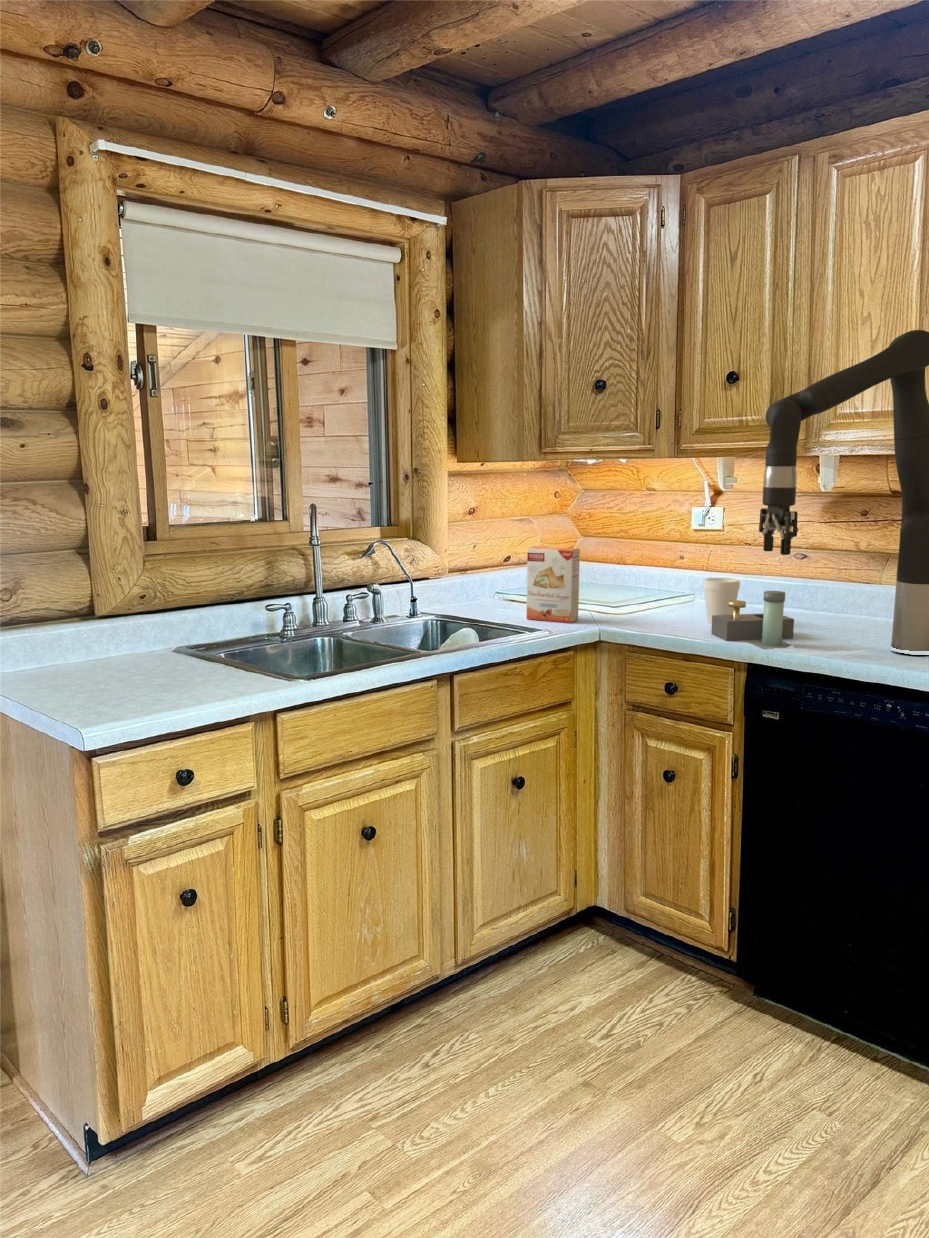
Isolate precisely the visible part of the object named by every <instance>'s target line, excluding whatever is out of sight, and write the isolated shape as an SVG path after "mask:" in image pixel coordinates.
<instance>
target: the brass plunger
mask: <svg viewBox="0 0 929 1238" xmlns="http://www.w3.org/2000/svg"><path fill="white" fill-rule="evenodd" d="M728 607H733V618H734V619H737V618H740V614H741V609H743V608H746V607H747V602H746V601H744V600H739V599H737V600H731V601H728Z"/></svg>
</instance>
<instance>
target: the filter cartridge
mask: <svg viewBox="0 0 929 1238" xmlns="http://www.w3.org/2000/svg"><path fill="white" fill-rule="evenodd" d="M785 601H786V592H785V591H780V590H765V591H763V613H764V614H763V631H762V640H761V641H762V645H765V646H781V642H782V641H783V639H782V626H783V615H784V607H785Z"/></svg>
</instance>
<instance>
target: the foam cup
mask: <svg viewBox="0 0 929 1238" xmlns="http://www.w3.org/2000/svg"><path fill="white" fill-rule="evenodd" d="M740 581H741V580H740V579H737V578H731V577H707V578H704V579H703V589H704V596H705V597H704V599H705V607H706V608H705V610H706V618H707V623H708V624H709V625H712V615H732V614H733V607H728V601H731V600H738V594H739V591H740V584H741V583H740Z"/></svg>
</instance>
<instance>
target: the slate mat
mask: <svg viewBox="0 0 929 1238" xmlns="http://www.w3.org/2000/svg"><path fill="white" fill-rule="evenodd" d="M745 642H746V643H747V644H751V645H752V644H753V646H754V647H757V648H760V649H761V650H769V649H770V650H775V648H777V649H788V648H787V647H789V646H790V647H791V645H792V644H790V643H787V642H785V641H783V640H782V642H781V646H765V645H762V640H745Z"/></svg>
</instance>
